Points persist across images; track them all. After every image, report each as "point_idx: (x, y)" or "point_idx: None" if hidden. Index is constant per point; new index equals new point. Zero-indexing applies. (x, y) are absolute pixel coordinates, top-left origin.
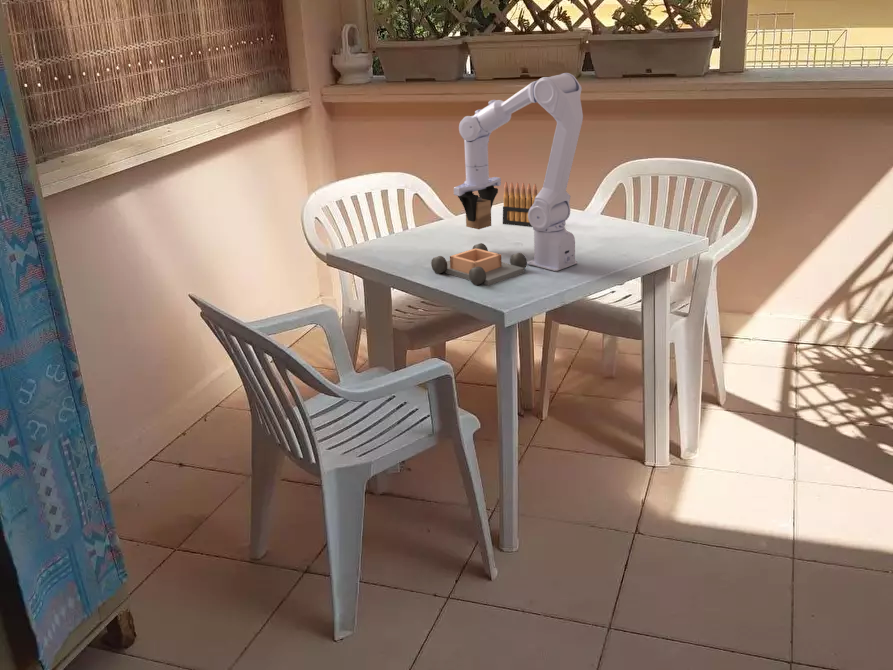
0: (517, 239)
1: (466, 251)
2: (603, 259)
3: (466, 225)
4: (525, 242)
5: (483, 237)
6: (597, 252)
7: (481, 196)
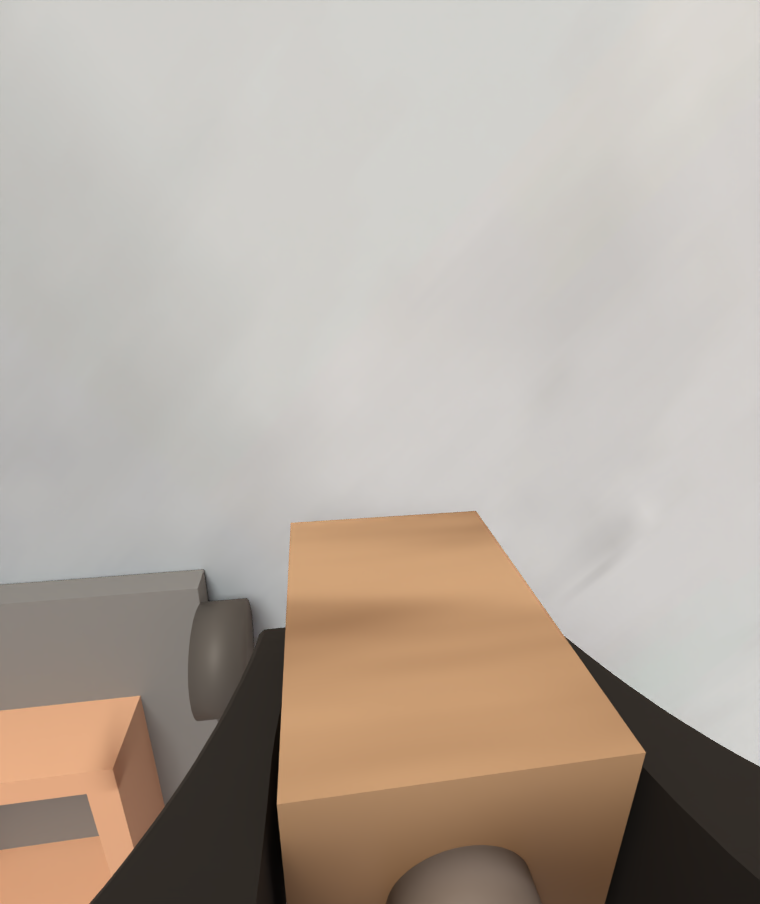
0: (682, 477)
1: (2, 788)
2: None
3: (291, 530)
4: (648, 552)
5: (626, 258)
6: None
7: (667, 852)
